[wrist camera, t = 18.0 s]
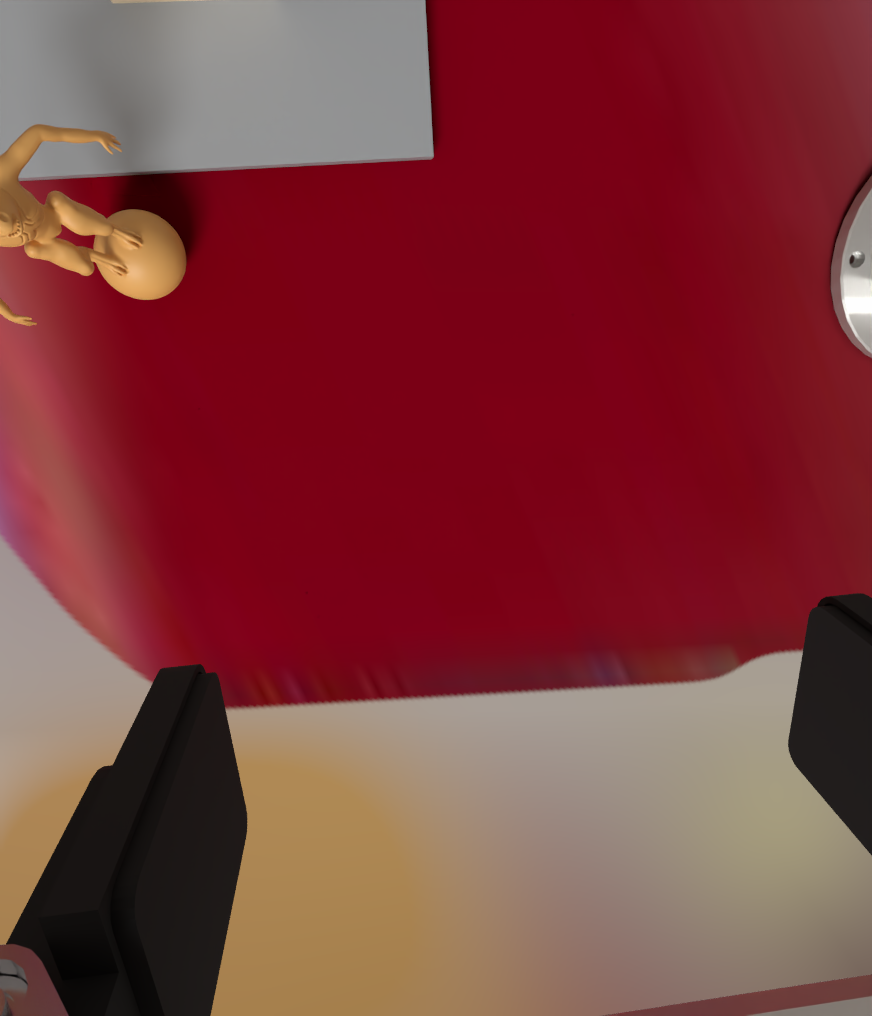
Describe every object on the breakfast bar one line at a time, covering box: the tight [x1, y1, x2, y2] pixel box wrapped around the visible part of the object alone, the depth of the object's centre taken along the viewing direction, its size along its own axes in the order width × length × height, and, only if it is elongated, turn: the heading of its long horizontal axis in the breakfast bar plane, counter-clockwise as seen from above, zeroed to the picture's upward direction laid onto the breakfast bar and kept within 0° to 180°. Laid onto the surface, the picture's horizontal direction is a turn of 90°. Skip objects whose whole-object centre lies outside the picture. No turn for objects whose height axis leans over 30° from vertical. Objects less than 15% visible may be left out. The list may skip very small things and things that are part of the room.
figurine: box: [0, 124, 186, 326], centre depth 27 cm, size 8×6×12 cm
